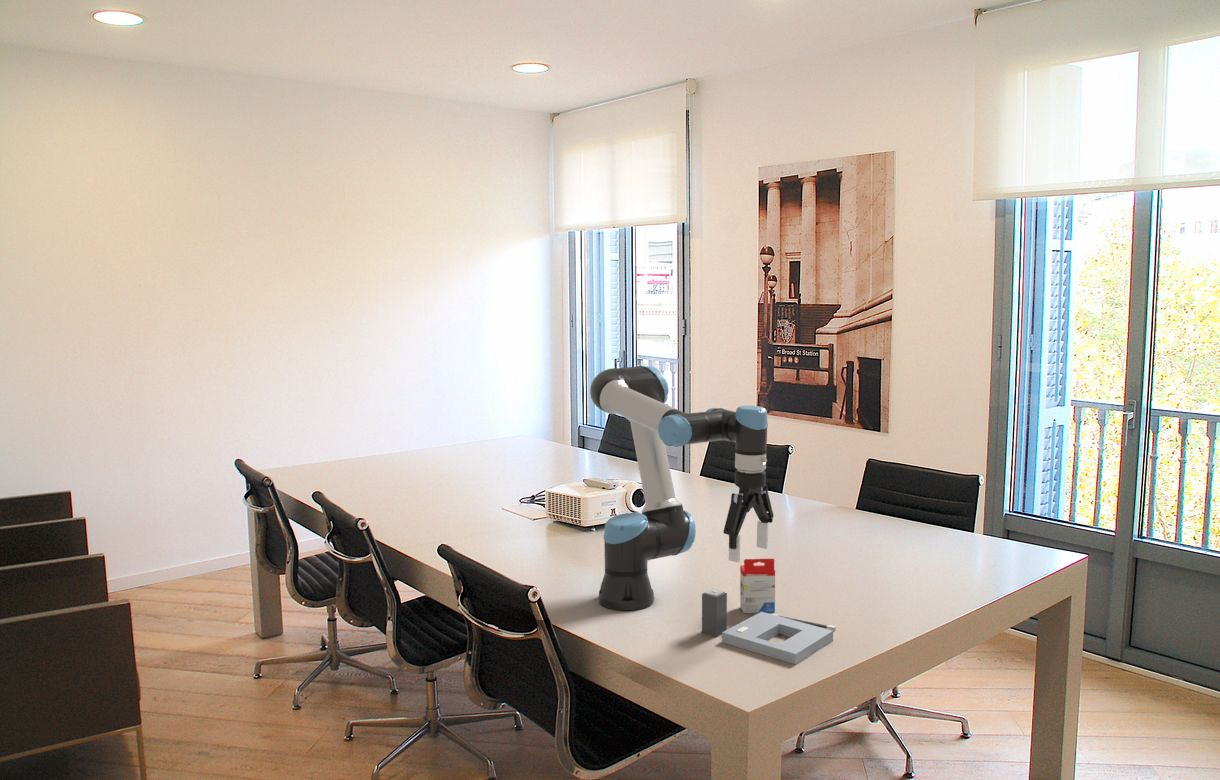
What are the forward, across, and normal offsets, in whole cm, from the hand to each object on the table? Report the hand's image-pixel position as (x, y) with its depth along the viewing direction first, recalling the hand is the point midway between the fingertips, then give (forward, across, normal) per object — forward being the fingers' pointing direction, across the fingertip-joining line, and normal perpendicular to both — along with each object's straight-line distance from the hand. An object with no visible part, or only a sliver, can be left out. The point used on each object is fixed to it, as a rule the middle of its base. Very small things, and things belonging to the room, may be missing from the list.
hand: (748, 554), depth 222 cm
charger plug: (+20, -6, +6) cm, 21 cm away
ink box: (+20, +14, +5) cm, 25 cm away
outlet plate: (+20, -2, -9) cm, 22 cm away
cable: (+20, +12, -9) cm, 25 cm away
